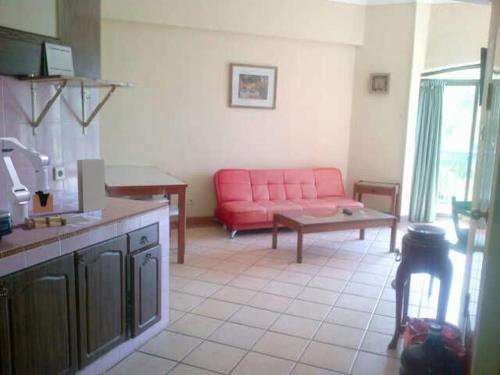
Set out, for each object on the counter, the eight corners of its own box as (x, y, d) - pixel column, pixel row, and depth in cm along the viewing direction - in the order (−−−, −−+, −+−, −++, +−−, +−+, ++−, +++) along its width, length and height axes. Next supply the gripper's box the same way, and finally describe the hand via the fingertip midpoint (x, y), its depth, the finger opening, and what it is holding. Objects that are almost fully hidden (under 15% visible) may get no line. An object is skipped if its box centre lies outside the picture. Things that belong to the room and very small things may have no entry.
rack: (24, 224, 229) (24, 217, 229) (57, 220, 239) (57, 214, 238) (31, 230, 217) (31, 223, 217) (66, 226, 227) (65, 219, 227)
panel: (32, 212, 228) (32, 194, 227) (51, 210, 234) (51, 193, 233) (34, 213, 226) (33, 195, 225) (53, 211, 232) (52, 194, 230)
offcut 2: (48, 225, 226) (48, 217, 226) (59, 224, 229) (59, 216, 229) (50, 226, 224) (50, 218, 223) (61, 225, 227) (60, 217, 226)
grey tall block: (100, 208, 275) (99, 158, 270) (105, 209, 271) (104, 159, 267) (78, 211, 264) (76, 159, 259) (83, 212, 260) (82, 160, 256)
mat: (58, 219, 242) (58, 218, 242) (81, 216, 249) (81, 215, 249) (65, 224, 231) (65, 223, 231) (89, 221, 238) (89, 220, 238)
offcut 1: (33, 227, 222) (33, 219, 221) (44, 225, 225) (44, 217, 224) (35, 228, 220) (34, 220, 219) (46, 226, 223) (45, 219, 222)
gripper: (53, 180, 224) (54, 207, 226) (46, 177, 236) (47, 202, 238) (38, 181, 220) (39, 208, 222) (31, 177, 231) (32, 204, 233)
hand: (42, 205), depth 229 cm, fingers closed on panel, 3 cm apart
